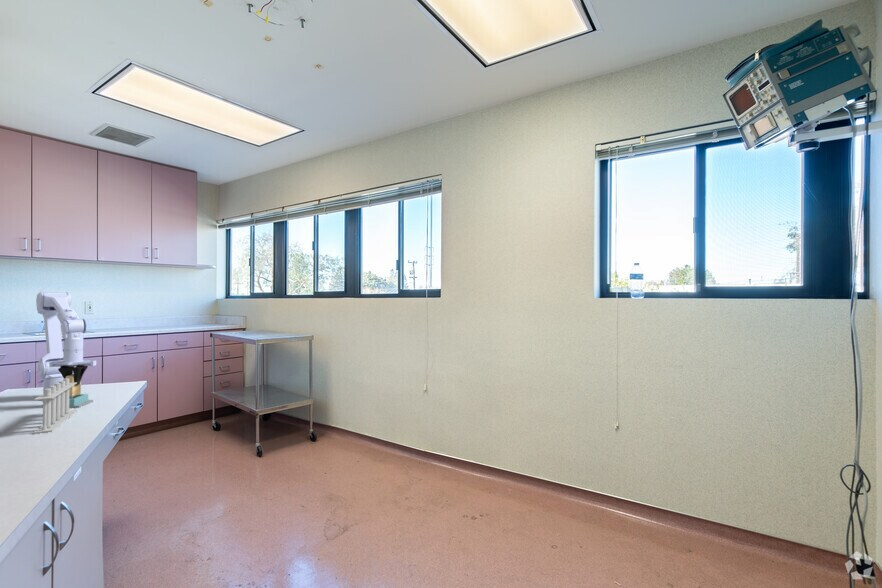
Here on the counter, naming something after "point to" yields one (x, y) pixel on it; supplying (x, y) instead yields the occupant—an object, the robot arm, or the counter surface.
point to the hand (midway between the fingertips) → (73, 384)
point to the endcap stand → (79, 401)
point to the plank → (74, 387)
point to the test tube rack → (55, 406)
